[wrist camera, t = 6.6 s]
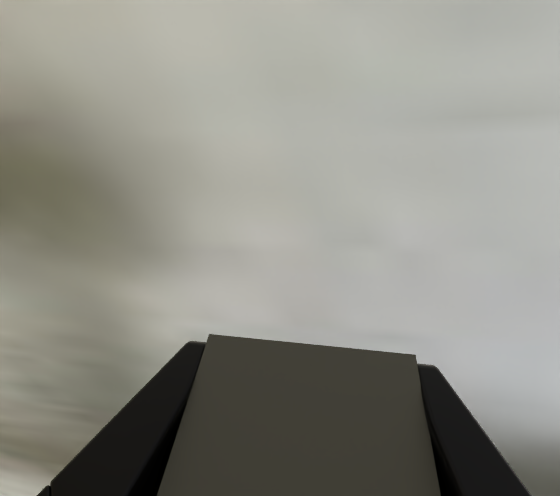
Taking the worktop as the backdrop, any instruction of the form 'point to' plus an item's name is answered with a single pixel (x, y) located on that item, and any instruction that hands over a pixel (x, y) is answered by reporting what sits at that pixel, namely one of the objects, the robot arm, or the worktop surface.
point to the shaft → (301, 424)
